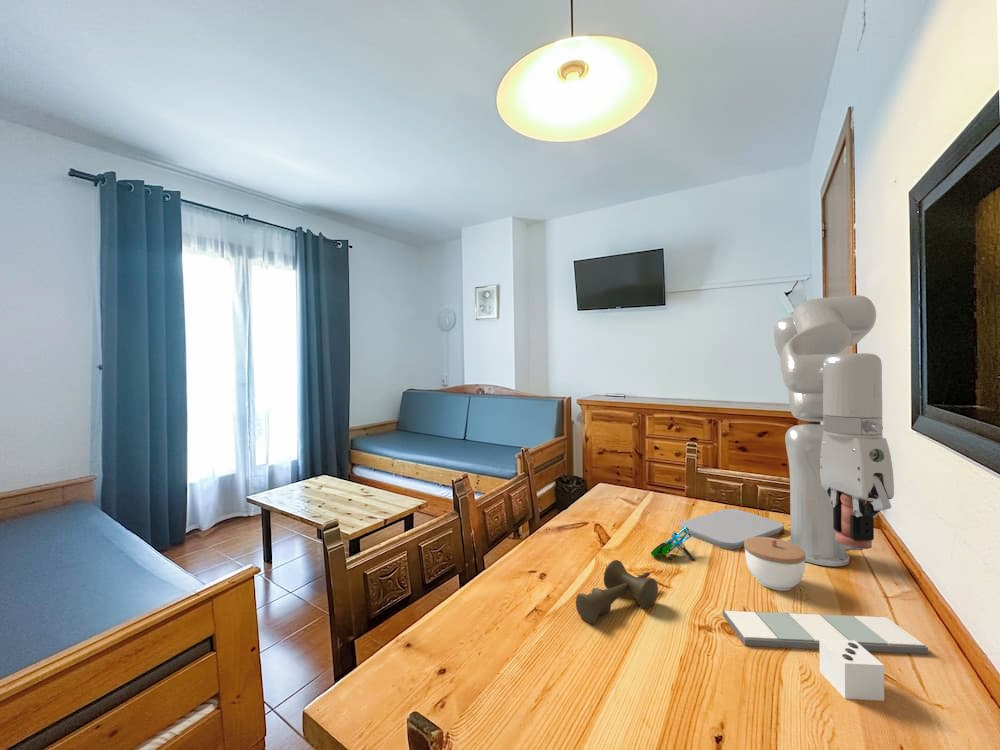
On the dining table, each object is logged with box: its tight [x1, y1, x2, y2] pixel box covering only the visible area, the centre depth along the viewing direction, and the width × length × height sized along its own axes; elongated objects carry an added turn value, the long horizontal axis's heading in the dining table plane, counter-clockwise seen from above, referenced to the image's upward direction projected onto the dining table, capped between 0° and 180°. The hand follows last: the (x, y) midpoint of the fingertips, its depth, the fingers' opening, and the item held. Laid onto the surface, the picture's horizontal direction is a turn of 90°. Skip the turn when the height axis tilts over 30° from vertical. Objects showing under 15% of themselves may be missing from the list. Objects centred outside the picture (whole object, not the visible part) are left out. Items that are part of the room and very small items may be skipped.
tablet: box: [679, 508, 784, 550], centre depth 113 cm, size 16×26×2 cm, turn 118°
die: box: [819, 639, 885, 702], centre depth 58 cm, size 5×5×5 cm
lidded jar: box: [743, 536, 806, 592], centre depth 85 cm, size 11×11×9 cm
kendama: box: [575, 559, 659, 625], centre depth 79 cm, size 6×10×20 cm
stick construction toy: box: [650, 527, 696, 562], centre depth 97 cm, size 12×7×8 cm
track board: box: [722, 610, 929, 655], centre depth 69 cm, size 28×8×1 cm, turn 84°
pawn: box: [835, 493, 873, 550], centre depth 68 cm, size 5×5×9 cm
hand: (852, 534), depth 68 cm, fingers closed on pawn, 3 cm apart
